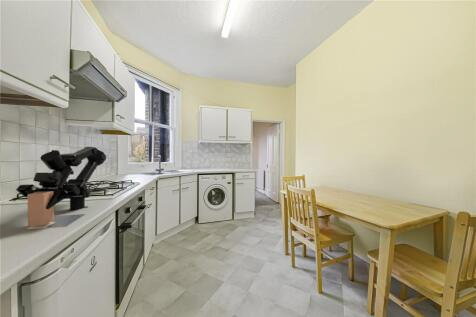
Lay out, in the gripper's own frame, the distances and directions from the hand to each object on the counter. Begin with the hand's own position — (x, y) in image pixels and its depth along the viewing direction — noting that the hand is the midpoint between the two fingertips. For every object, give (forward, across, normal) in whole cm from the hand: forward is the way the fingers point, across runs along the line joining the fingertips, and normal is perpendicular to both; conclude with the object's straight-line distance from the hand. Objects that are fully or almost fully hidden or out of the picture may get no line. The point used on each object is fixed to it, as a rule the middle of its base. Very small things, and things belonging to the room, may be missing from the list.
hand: (38, 209), depth 69 cm
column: (+3, 0, +5) cm, 6 cm away
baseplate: (+1, +3, +9) cm, 10 cm away
